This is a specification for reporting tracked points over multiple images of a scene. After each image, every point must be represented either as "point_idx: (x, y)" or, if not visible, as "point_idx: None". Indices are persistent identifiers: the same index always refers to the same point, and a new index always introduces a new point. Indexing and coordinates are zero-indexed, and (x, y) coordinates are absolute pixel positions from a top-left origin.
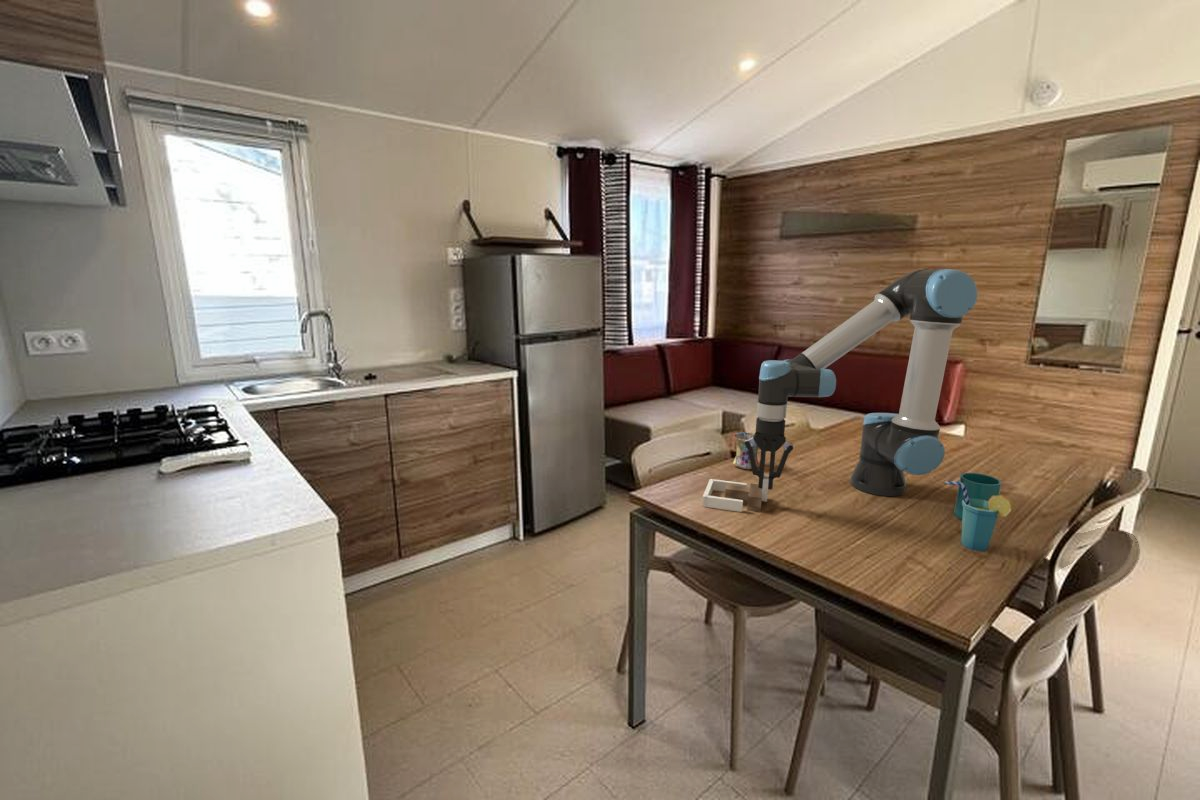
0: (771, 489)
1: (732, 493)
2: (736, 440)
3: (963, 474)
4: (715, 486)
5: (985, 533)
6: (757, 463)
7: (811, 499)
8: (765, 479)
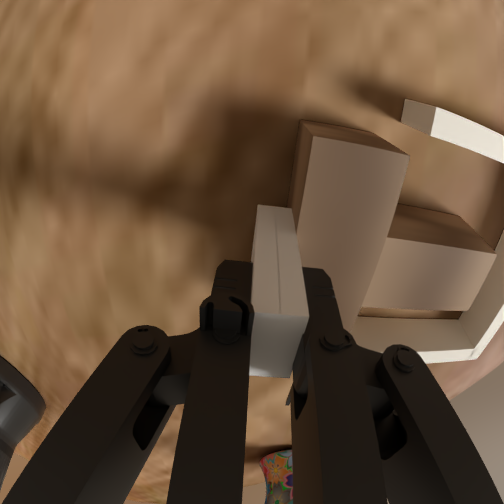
0: (225, 261)
1: (458, 237)
2: None
3: None
4: (458, 331)
5: None
6: (264, 466)
7: (77, 312)
8: (284, 312)
